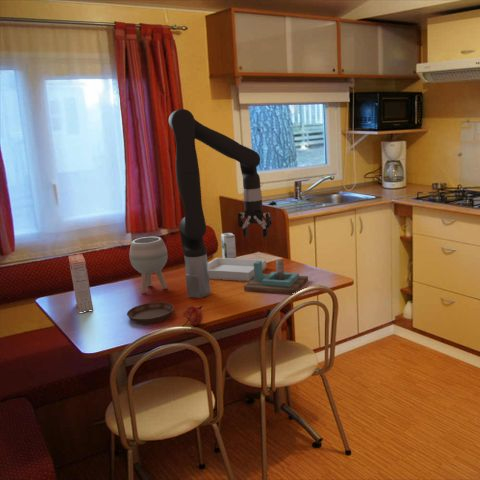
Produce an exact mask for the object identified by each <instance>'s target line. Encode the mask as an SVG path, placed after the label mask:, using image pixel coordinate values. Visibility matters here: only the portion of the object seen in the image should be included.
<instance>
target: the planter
mask: <svg viewBox="0 0 480 480" xmlns="http://www.w3.org/2000/svg"><path fill="white" fill-rule="evenodd" d="M128 255H129V261H130V264H131V266H132V267H133V268H134V270H135V271H137V272H138V273H139V274H141V280H140V281H141V284H140V293H141V295H142V294H145V293H146V291H147V287H151V286H152V274H155V275H156V277H157V280H158V281H159V283H160V286H161V288H162V290H166V289H168V286H167V283H166V280H165V278H164V274H163V272H162V270H163V268H165V266H166V264H167V261H168V250H167V246H166V244H165V242H164V240H163V238H162V237H160V236H146V237H145V236H144V237H143V236H142V237H138V238H136V239H134V240H132V241H131V244H130V248H129V254H128Z"/></svg>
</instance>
